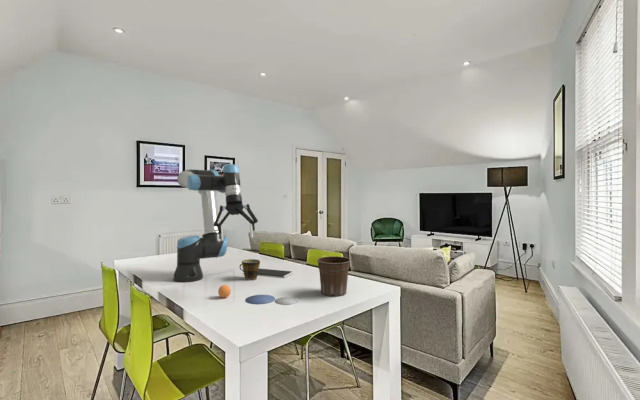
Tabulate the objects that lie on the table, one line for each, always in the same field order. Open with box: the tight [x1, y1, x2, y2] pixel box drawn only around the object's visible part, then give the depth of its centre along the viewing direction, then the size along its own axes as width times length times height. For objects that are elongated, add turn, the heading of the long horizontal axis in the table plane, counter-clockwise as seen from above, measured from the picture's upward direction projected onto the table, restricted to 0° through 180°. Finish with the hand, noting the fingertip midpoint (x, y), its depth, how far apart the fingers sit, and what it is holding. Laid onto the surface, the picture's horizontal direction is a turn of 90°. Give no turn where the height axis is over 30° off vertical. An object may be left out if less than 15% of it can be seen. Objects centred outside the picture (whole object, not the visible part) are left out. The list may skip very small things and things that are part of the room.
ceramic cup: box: [239, 258, 261, 281], centre depth 183 cm, size 13×10×10 cm
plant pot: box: [316, 255, 351, 297], centre depth 159 cm, size 16×16×16 cm
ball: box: [217, 284, 232, 298], centre depth 150 cm, size 6×6×6 cm
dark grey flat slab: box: [257, 267, 295, 279], centre depth 197 cm, size 13×27×2 cm, turn 71°
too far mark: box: [274, 296, 299, 306], centre depth 146 cm, size 10×10×1 cm
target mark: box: [245, 294, 276, 305], centre depth 148 cm, size 13×13×1 cm
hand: (237, 239), depth 155 cm, fingers open, 13 cm apart
